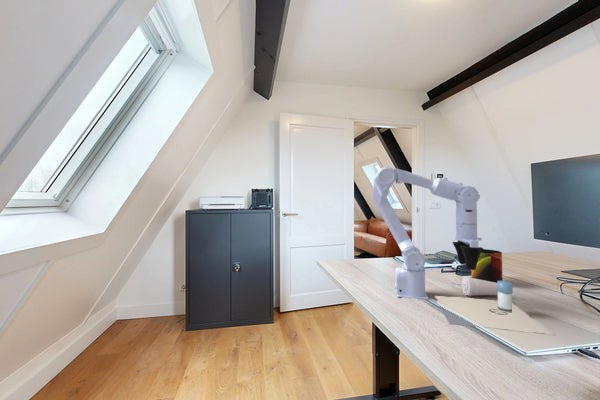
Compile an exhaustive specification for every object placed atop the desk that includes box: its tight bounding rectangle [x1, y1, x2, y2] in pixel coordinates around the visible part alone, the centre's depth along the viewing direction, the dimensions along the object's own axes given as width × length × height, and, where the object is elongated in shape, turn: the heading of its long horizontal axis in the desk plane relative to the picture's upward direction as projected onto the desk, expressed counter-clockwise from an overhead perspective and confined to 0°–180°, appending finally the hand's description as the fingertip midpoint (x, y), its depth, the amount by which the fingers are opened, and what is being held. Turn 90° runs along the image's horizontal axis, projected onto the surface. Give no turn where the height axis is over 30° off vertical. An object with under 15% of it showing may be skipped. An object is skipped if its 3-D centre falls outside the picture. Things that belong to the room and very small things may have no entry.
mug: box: [470, 248, 503, 283], centre depth 103 cm, size 10×14×12 cm
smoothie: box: [451, 275, 498, 297], centre depth 87 cm, size 6×6×14 cm
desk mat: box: [438, 301, 514, 328], centre depth 75 cm, size 22×22×1 cm
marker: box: [497, 280, 514, 313], centre depth 74 cm, size 3×3×8 cm
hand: (467, 266), depth 85 cm, fingers open, 7 cm apart
